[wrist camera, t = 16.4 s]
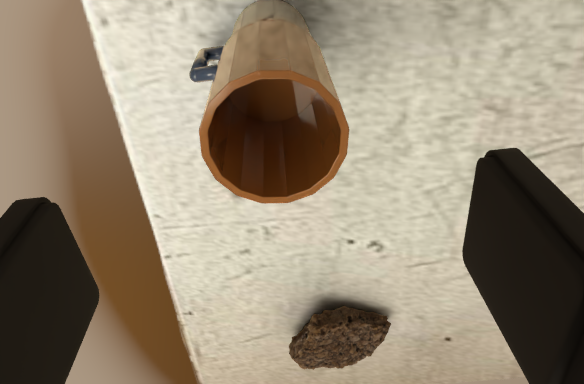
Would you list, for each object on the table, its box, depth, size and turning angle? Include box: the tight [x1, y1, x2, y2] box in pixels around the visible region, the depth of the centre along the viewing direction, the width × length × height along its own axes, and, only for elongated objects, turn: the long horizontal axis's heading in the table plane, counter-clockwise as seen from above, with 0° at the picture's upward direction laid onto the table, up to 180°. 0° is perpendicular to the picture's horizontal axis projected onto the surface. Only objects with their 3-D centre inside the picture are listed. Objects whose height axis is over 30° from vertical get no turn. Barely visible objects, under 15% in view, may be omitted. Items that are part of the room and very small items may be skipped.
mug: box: [189, 0, 310, 82], centre depth 33 cm, size 9×6×8 cm
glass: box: [199, 18, 349, 203], centre depth 25 cm, size 7×7×10 cm
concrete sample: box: [289, 306, 391, 369], centre depth 54 cm, size 12×10×5 cm
